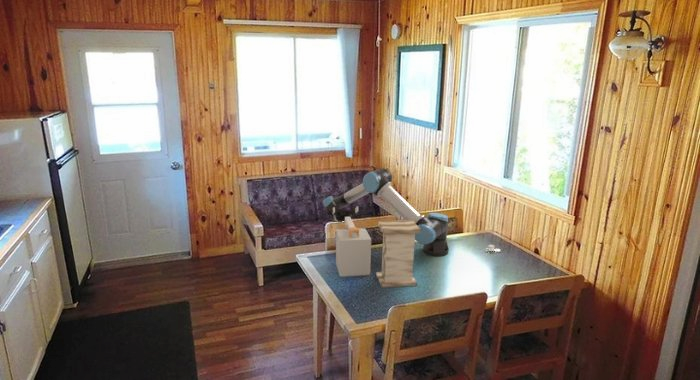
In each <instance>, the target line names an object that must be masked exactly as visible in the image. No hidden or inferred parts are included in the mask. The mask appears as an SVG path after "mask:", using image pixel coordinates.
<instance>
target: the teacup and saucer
mask: <svg viewBox="0 0 700 380" xmlns="http://www.w3.org/2000/svg"><path fill="white" fill-rule="evenodd" d="M486 249H489V250H488V251H489V252H490V251H493V252H494V251H495V252H494V253H496V252H498V253H500V252H501V249H500V248H495V245H494V244H489V245H487V246H486Z"/></svg>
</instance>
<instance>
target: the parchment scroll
mask: <svg viewBox="0 0 700 380" xmlns="http://www.w3.org/2000/svg"><path fill="white" fill-rule="evenodd" d="M377 225H378V228H380V229H379V230H381V232H382V257H381V271H376V272H375V276H376V278H377V279H378V283H379V285H380V287H381V288H397V287H399V288H400V287H412V286H418V282H417V280H416V279H415V277H414V274H413V273H414V259H415V255H414V254H415V243H416V240H415V233H420V232H421V229H420V228H419V227H418V226H417V225H416V223H415V222H414V221H413V220H404V219H399V220H398V219H396V220H395V219H394V220H377Z"/></svg>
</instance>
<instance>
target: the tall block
mask: <svg viewBox="0 0 700 380" xmlns="http://www.w3.org/2000/svg"><path fill="white" fill-rule="evenodd" d="M358 229H359V237H353V238H350V235H349V230H348V228H344V229H343V228H342V229H341V228H340V229H338V228H337V229H335V231H336V232H335V265H336V269H337V272H338V274H339V275H338V276H339V277H357V276H358V277H359V276H369V275H371V265H372V264H371V260H372V259H371V257H372V256H371V255H372V238H371V236H370V234H369V233H368V231H367V229H366V228H365V227H364V228H362V227H361V228H358Z"/></svg>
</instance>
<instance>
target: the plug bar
mask: <svg viewBox="0 0 700 380" xmlns="http://www.w3.org/2000/svg"><path fill="white" fill-rule="evenodd" d="M351 217H352V216H348V217H345V221H344V224H345V226H346V229H348V230H349V235H350V238H353V237H359V229H360V228H359V227H358V226H357V227H356V226H355V223H354V222H353V219H352V218H351Z"/></svg>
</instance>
